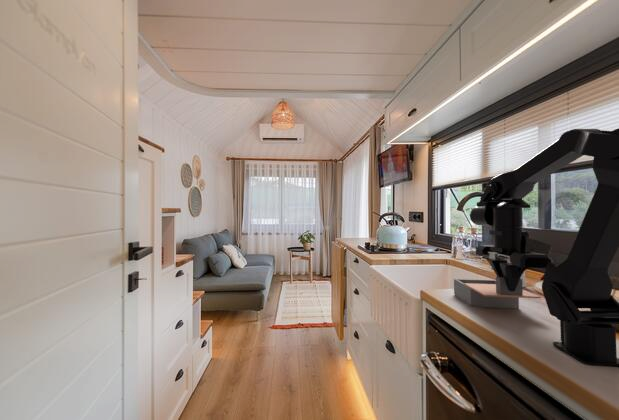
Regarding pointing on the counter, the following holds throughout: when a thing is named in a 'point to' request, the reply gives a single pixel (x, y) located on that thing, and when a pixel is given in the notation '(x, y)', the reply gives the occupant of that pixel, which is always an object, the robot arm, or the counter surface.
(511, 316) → the counter surface
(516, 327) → the counter surface
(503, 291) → the lid
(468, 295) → the grey open tray
